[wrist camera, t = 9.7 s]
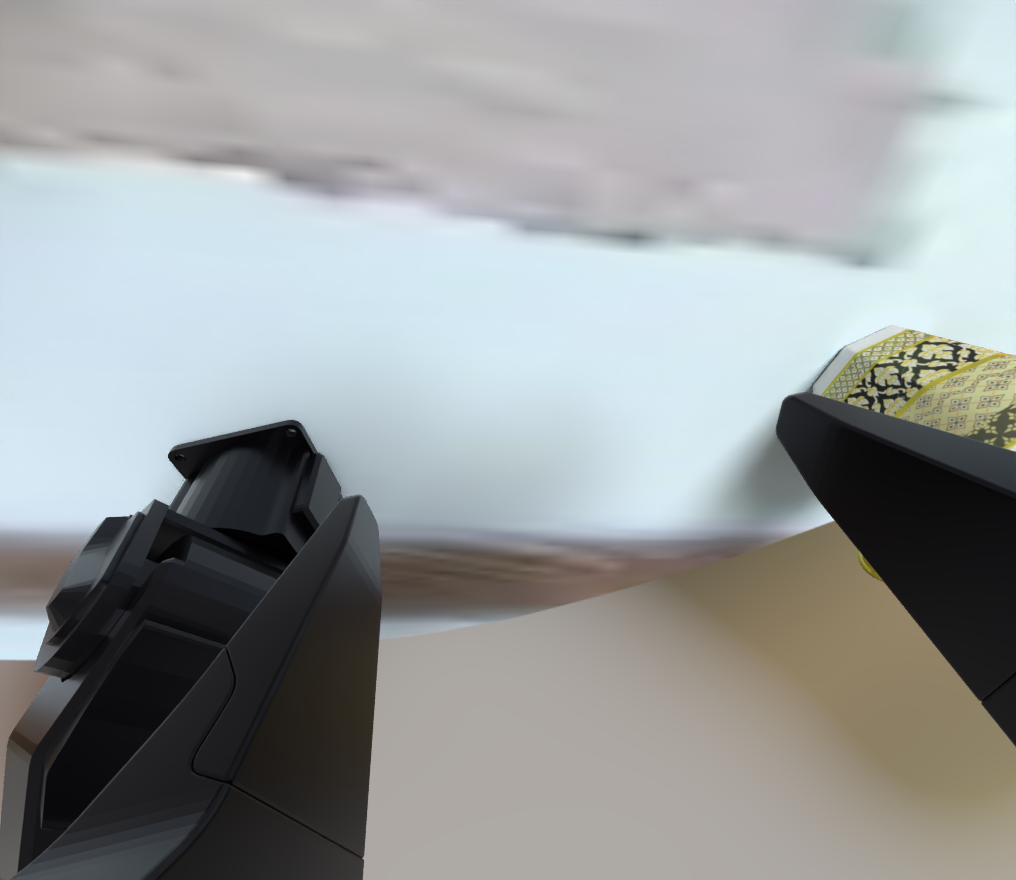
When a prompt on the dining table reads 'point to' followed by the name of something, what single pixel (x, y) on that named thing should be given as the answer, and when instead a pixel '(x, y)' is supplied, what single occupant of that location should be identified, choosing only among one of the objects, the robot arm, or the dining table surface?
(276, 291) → the dining table surface
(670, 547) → the dining table surface
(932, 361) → the ceramic cup
